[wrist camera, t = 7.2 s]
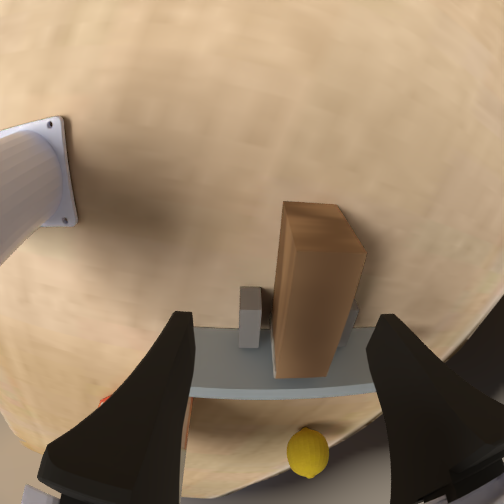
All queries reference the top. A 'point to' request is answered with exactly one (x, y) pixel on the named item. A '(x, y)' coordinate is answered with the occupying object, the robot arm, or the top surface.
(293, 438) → the lemon
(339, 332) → the block
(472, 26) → the top surface
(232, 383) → the grey plank with pegs
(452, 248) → the top surface
